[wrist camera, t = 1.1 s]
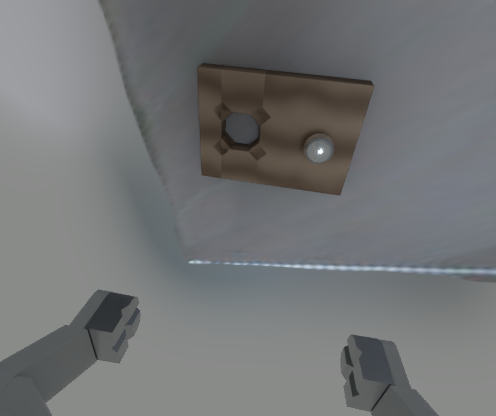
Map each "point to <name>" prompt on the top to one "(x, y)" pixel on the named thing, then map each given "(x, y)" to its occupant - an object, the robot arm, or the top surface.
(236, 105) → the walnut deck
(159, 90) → the top surface
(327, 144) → the steel ball
